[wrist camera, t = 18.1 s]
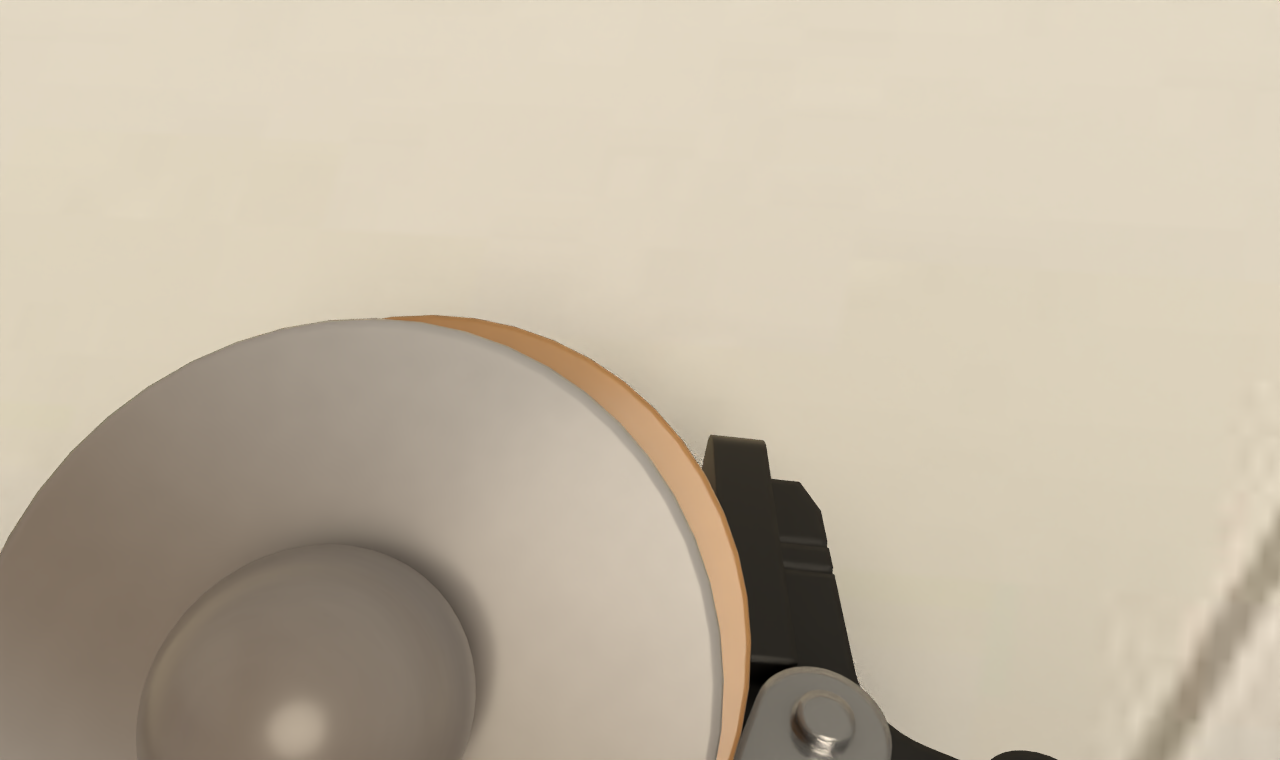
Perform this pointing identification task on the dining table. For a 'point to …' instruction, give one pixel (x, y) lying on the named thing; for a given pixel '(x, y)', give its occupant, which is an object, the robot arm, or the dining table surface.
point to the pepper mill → (376, 563)
